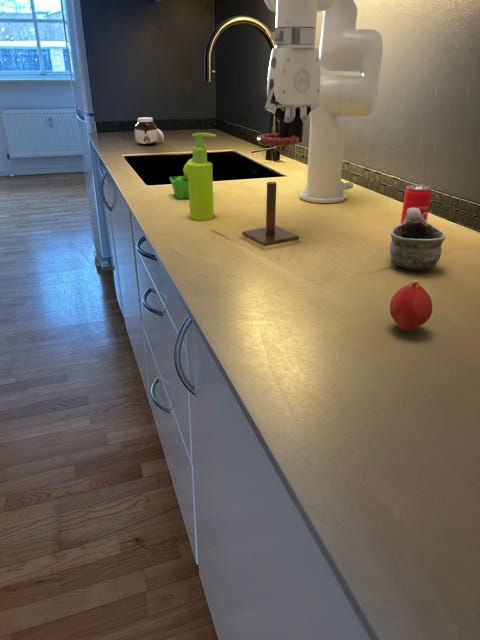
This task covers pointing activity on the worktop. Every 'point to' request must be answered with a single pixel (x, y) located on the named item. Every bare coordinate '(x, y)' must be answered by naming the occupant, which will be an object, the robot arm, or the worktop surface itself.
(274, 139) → the ring
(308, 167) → the robot arm
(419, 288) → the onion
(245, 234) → the stand
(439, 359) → the worktop surface
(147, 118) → the spread jar
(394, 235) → the grey stoneware bowl
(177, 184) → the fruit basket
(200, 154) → the soap dispenser
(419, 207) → the beverage can
